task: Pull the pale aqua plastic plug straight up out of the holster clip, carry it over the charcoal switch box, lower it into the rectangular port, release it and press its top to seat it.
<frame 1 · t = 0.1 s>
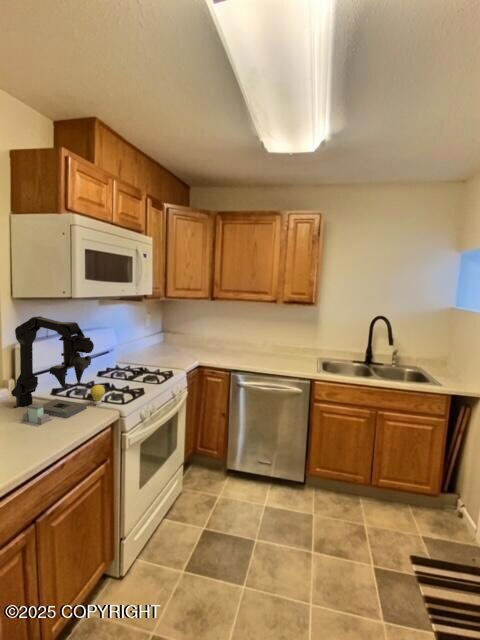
hand: (71, 384, 160), 15 cm above the countertop, tool pointing down, fingers open, 9 cm apart
holster: (36, 422, 153), on the countertop
plug: (36, 421, 153), point 1 cm above the countertop, touching holster
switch: (61, 412, 165), on the countertop
light bulb: (98, 404, 176), on the countertop
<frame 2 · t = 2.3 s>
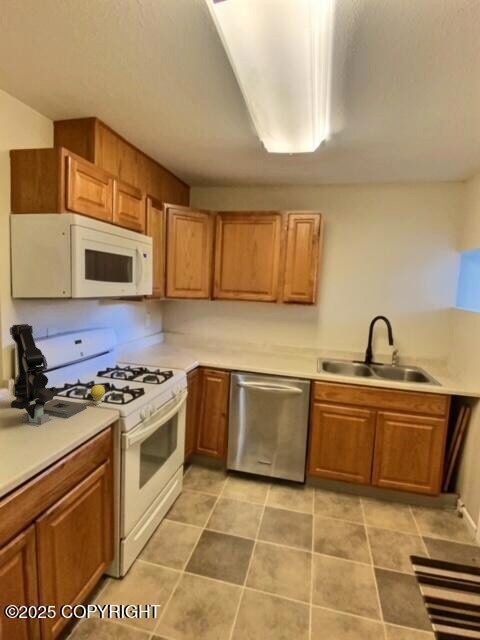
hand: (36, 417, 152), 3 cm above the countertop, tool pointing down, fingers closed on plug, 3 cm apart
plug: (36, 421, 153), point 1 cm above the countertop, touching gripper, holster
everything else where it was.
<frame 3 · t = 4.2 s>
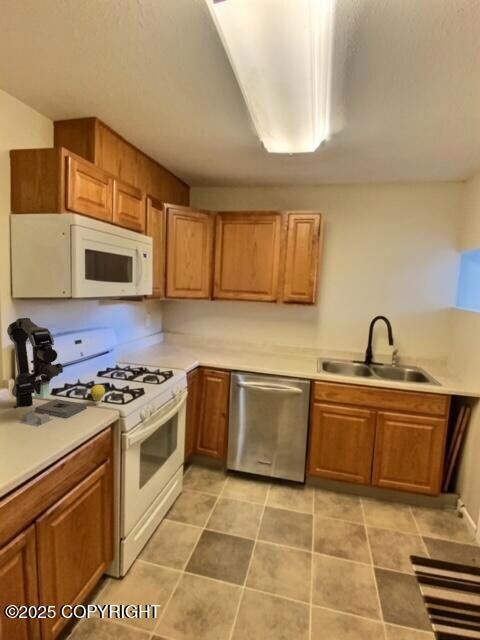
hand: (41, 392, 154), 12 cm above the countertop, tool pointing down, fingers closed on plug, 3 cm apart
plug: (42, 396, 154), point 11 cm above the countertop, touching gripper
everything else where it was.
when the fingers open (4 cm above the countertop, at t = 6.3 s): plug drops 2 cm, resting in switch.
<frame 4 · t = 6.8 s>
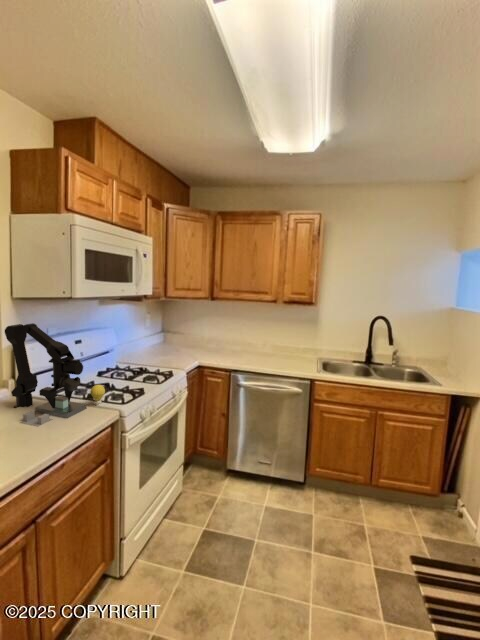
hand: (61, 404, 164), 4 cm above the countertop, tool pointing down, fingers open, 8 cm apart
plug: (61, 412, 165), resting in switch
everything else where it was.
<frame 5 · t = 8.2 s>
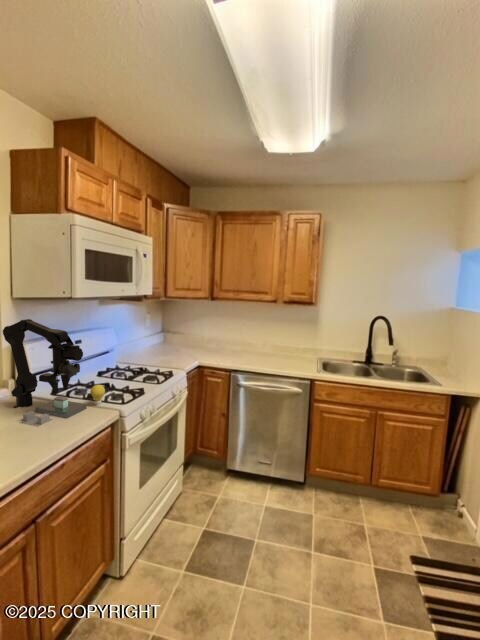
hand: (60, 391, 163), 10 cm above the countertop, tool pointing down, fingers open, 5 cm apart
nothing on the countertop moved.
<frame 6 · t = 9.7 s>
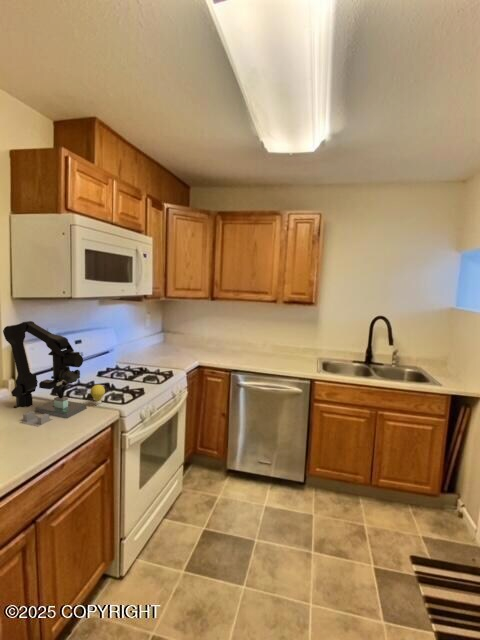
hand: (61, 397, 164), 7 cm above the countertop, tool pointing down, fingers closed, pressing on plug
plug: (61, 412, 165), resting in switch, touching gripper
everything else where it was.
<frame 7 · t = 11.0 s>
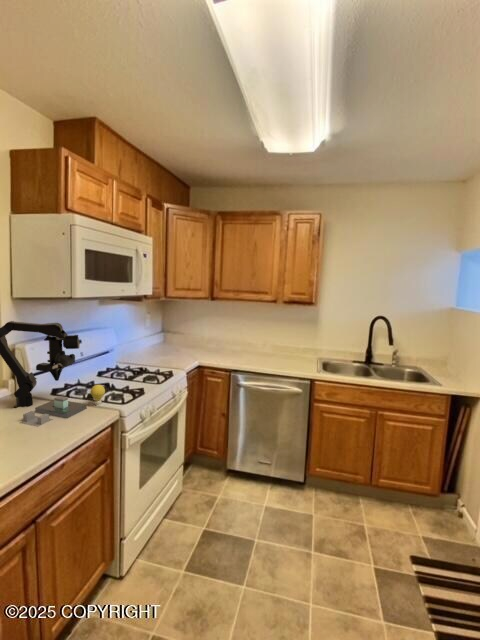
hand: (56, 380, 172), 12 cm above the countertop, tool pointing down, fingers closed
plug: (61, 412, 165), resting in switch
everything else where it was.
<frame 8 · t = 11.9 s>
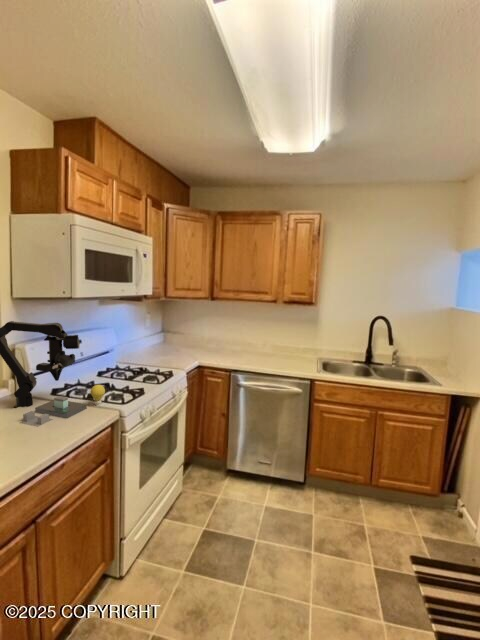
hand: (56, 380, 172), 12 cm above the countertop, tool pointing down, fingers closed
nothing on the countertop moved.
at the end: plug 0.1 cm off-centre on the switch, point 0.0 cm above the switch's base; plug tilted 0°; the gripper is holding nothing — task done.
